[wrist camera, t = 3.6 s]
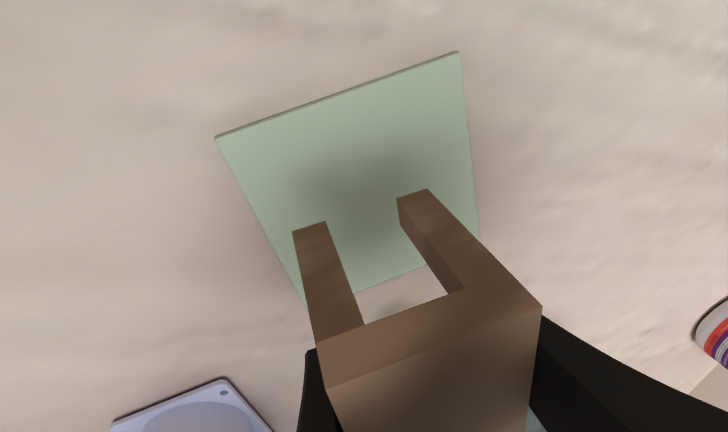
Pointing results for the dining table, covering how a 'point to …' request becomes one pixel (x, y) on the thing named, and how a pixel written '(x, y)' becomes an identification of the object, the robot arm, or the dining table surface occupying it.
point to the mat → (360, 168)
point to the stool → (424, 335)
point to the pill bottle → (715, 334)
